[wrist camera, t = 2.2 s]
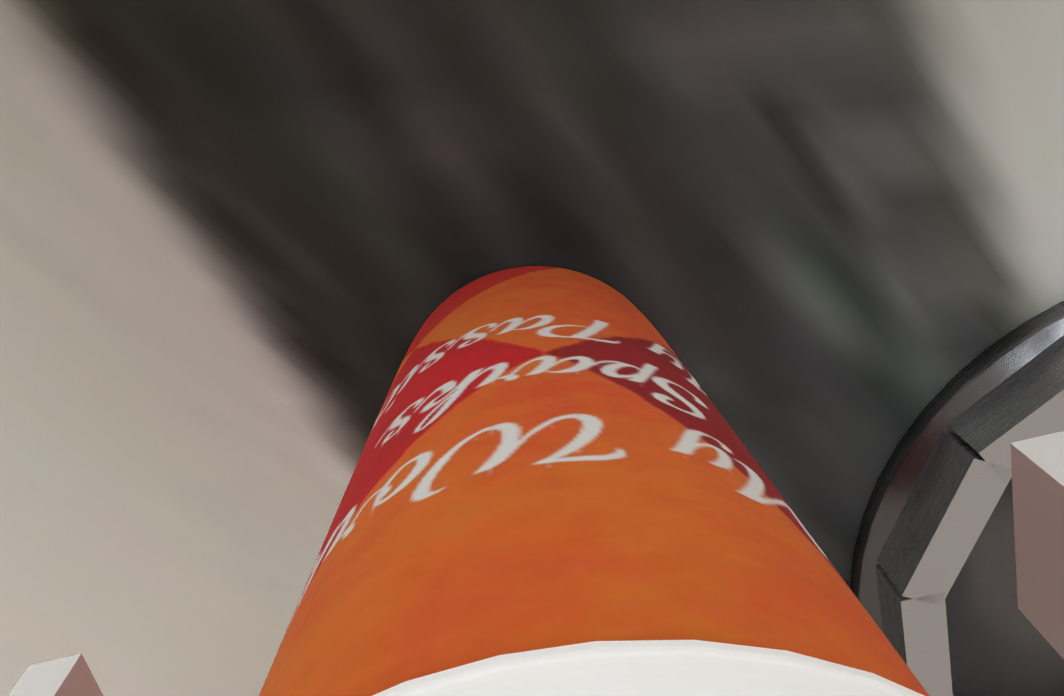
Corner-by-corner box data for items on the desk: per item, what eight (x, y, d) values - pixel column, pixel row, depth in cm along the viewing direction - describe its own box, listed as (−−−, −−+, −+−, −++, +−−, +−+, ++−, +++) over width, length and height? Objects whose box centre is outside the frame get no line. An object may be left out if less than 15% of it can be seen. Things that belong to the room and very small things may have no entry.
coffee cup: (718, 197, 19) (1430, 763, 5) (714, 533, 21) (1136, 1511, 7) (318, 225, 18) (-234, 904, 4) (368, 561, 21) (135, 1612, 7)
